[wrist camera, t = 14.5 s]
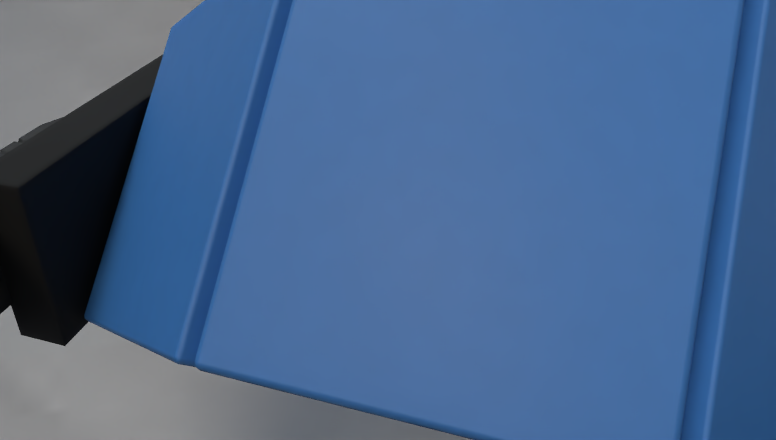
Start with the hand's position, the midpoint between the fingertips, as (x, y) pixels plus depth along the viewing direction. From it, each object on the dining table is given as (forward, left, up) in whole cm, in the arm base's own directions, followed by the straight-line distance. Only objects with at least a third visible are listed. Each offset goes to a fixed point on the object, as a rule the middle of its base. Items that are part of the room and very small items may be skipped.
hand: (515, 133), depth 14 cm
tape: (-3, -1, -4) cm, 5 cm away
